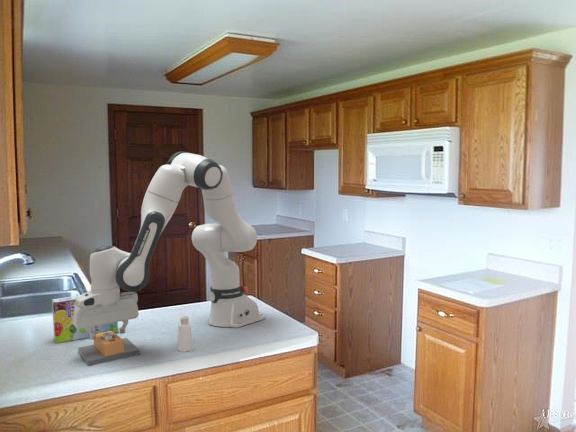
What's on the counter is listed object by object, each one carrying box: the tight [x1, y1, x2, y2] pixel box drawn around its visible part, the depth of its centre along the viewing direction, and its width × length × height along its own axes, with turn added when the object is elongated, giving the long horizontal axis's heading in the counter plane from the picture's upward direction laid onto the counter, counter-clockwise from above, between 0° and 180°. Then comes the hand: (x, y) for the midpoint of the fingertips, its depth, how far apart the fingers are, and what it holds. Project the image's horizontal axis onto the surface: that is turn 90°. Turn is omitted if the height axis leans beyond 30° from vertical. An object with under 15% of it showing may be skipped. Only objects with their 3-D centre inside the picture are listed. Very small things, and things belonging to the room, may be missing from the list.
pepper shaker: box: [176, 315, 194, 353], centre depth 164 cm, size 5×5×11 cm
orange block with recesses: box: [93, 331, 124, 357], centre depth 161 cm, size 12×6×4 cm, turn 38°
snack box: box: [51, 295, 119, 344], centre depth 178 cm, size 21×6×15 cm, turn 119°
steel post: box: [103, 332, 113, 340], centre depth 161 cm, size 3×3×6 cm
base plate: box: [77, 337, 140, 366], centre depth 162 cm, size 16×14×2 cm
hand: (108, 336), depth 162 cm, fingers open, 8 cm apart
